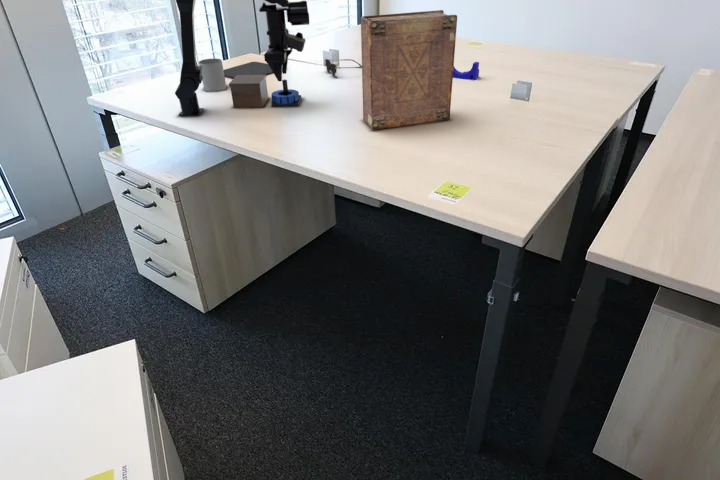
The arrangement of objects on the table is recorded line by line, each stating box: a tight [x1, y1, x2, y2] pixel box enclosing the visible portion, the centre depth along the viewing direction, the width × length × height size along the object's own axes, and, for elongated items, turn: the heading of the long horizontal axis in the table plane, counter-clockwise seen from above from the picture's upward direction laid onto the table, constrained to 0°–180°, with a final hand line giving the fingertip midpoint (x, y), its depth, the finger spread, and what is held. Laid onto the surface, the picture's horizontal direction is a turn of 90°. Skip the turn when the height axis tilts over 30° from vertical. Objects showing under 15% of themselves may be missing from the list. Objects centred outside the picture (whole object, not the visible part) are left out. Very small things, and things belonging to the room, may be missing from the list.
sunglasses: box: [324, 58, 362, 78], centre depth 196 cm, size 14×16×5 cm
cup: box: [198, 58, 227, 93], centre depth 180 cm, size 8×8×10 cm
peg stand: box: [271, 79, 302, 108], centre depth 165 cm, size 9×9×8 cm
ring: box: [270, 88, 300, 104], centre depth 165 cm, size 9×9×2 cm
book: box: [360, 9, 458, 131], centre depth 141 cm, size 25×9×30 cm, turn 107°
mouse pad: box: [223, 61, 274, 79], centre depth 202 cm, size 23×20×1 cm
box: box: [228, 75, 269, 109], centre depth 165 cm, size 10×10×8 cm
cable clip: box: [453, 61, 480, 81], centre depth 186 cm, size 12×4×6 cm, turn 62°
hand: (282, 77), depth 158 cm, fingers open, 9 cm apart
